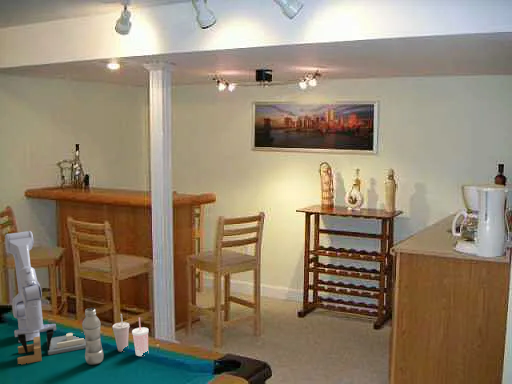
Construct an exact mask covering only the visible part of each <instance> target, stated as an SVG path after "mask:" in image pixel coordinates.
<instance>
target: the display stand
mask: <svg viewBox="0 0 512 384" xmlns="http://www.w3.org/2000/svg"><path fill="white" fill-rule="evenodd" d="M73 334H74V333H73V332H68V333H66V335H62V336H61V335H60V336H55V337H52V339H51V342H50V350H48V349H47V355H48V356H51V355H57V354H62V353H68V352H73V351H77V350H83V349H86V342H85V339H84V338H79V337H76V336H73Z"/></svg>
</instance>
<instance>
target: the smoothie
mask: <svg viewBox="0 0 512 384" xmlns="http://www.w3.org/2000/svg"><path fill="white" fill-rule="evenodd" d="M123 320H124V319H123V314H122V313H120V322H116V323H114V324H113V325H112V330H113V334H114V337H115V338H114V339H115V343H116V347H117V351H118V352H121V353H122V351H123V349H124V348H125V347H127V346H128V347H129V332H130V331H129V330H130V327H131V326H130V323H129V322H125V321H123ZM123 352H124V351H123Z"/></svg>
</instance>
